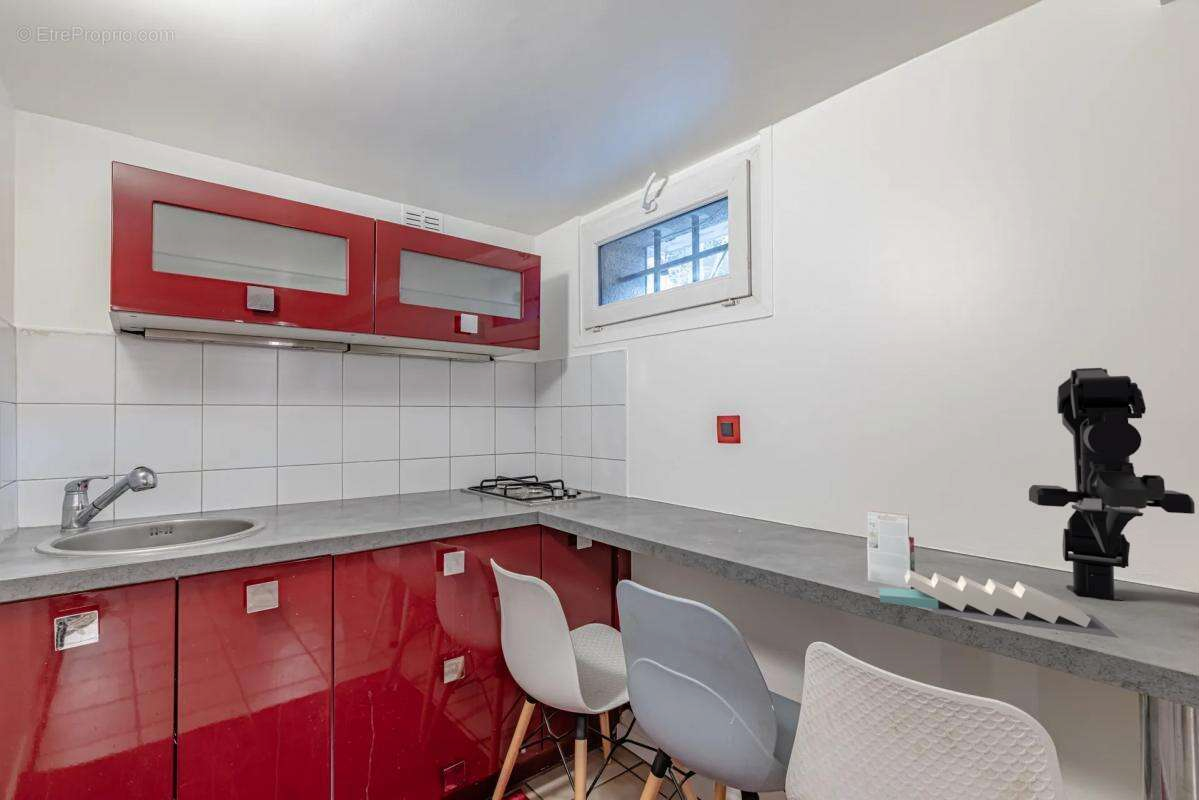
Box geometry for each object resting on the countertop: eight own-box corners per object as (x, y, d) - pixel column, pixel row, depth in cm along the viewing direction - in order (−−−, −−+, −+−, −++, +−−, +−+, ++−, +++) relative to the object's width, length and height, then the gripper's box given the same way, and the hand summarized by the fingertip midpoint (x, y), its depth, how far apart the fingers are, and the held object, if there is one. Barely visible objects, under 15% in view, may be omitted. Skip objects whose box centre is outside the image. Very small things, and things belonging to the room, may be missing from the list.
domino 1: (938, 609, 94) (880, 604, 98) (934, 600, 99) (879, 595, 103) (937, 599, 94) (879, 595, 98) (934, 591, 99) (878, 587, 103)
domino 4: (1022, 619, 89) (962, 591, 93) (1014, 610, 94) (957, 583, 97) (1026, 611, 89) (966, 582, 93) (1018, 602, 94) (961, 575, 97)
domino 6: (1086, 627, 86) (1021, 597, 90) (1074, 617, 90) (1013, 589, 94) (1090, 618, 86) (1025, 589, 89) (1079, 608, 90) (1017, 581, 94)
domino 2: (962, 611, 93) (906, 584, 97) (957, 602, 97) (904, 576, 101) (966, 603, 93) (910, 576, 96) (961, 595, 97) (908, 569, 101)
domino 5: (1054, 623, 88) (991, 594, 91) (1044, 613, 92) (985, 586, 96) (1058, 615, 87) (995, 586, 91) (1049, 605, 92) (989, 578, 95)
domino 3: (992, 616, 91) (934, 587, 95) (986, 606, 96) (931, 580, 99) (996, 607, 91) (938, 579, 95) (990, 598, 95) (934, 572, 99)
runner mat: (926, 597, 102) (926, 595, 102) (1092, 617, 91) (1092, 614, 91) (933, 615, 92) (933, 613, 92) (1119, 640, 82) (1119, 637, 82)
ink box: (872, 578, 113) (871, 508, 114) (916, 586, 108) (914, 512, 108) (867, 582, 111) (865, 510, 111) (911, 591, 105) (909, 515, 106)
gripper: (1048, 456, 84) (1050, 558, 84) (1215, 460, 76) (1219, 573, 76) (1026, 451, 94) (1029, 542, 94) (1172, 454, 86) (1175, 554, 86)
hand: (1107, 552), depth 87 cm, fingers closed
